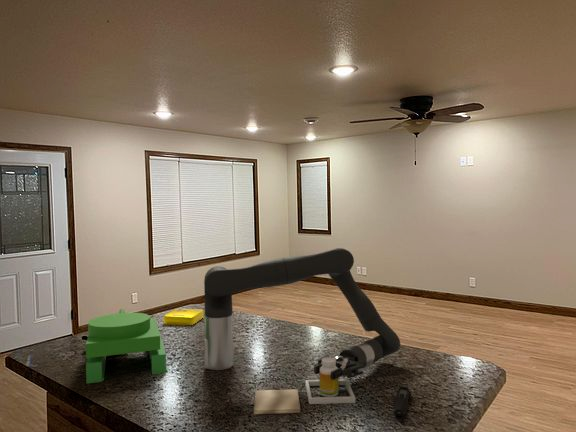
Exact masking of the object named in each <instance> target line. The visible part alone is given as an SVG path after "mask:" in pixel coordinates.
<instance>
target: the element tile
mask: <svg viewBox="0 0 576 432" xmlns="http://www.w3.org/2000/svg"><path fill="white" fill-rule="evenodd" d="M202 318H203V319H205V310H203V309H200V308H199V309H196V308H195V309H194V308H192V309H191V308H182V307H181V308H175V309H173V310H171V311H169V312H168V313H166V314H164V315H163V325H164V324H165V326H166V325H167V326H184V325H192V326H194V325H193V324H195V323H196V324H198V323H199V322H200V321H199V320H201V319H202ZM203 319H202V320H203ZM202 320H201V321H202ZM198 321H199V322H198ZM197 322H198V323H197ZM196 324H195V325H196Z"/></svg>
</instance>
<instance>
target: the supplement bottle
mask: <svg viewBox="0 0 576 432" xmlns="http://www.w3.org/2000/svg"><path fill="white" fill-rule="evenodd" d="M322 365H323V366H321V367H320V373H319V380H320V386H319V394H320V395H321V396H322V397H338V395H339V391H340V390H339V386H340V385H339V378H340V377H339V378H337V379H335V380H332V379H331V372H332V371H334V370H336V369H338V368H337V367H336V366H335V365H336V360H335V359H334V358H333V357H331V356H329V357H327V358H323V359H322Z"/></svg>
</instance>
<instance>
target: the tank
mask: <svg viewBox="0 0 576 432" xmlns="http://www.w3.org/2000/svg"><path fill="white" fill-rule="evenodd" d="M87 334H88V335H87V339H86V342H85V358H86V363H85V375H86V377H85V378H86V381H85V384H92V383H93V384H95V383H102V382H103V381H105V370H106V357H108V356H109V357H110V356H115V355H123V354H135V353H141V352H148V353H149V358H150V359H149V360H150V363H151V375H153V376H154V375H158V374H160V375H161V374H166V373H167V372H169V371H168V367H167V354H166V353H167V352H166V350H165V346H164V344H163V339H162V334H161V332H160V330H159V326H158V323H157V319H156V317H151V315H149V314H147V313H142V312H125V309H124V308H120V309H119V313H112V314H111V313H110V314H105V315H102V316H98V317H94V318H92V319H90V320H88V322H87Z"/></svg>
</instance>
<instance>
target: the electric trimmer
mask: <svg viewBox="0 0 576 432" xmlns="http://www.w3.org/2000/svg"><path fill="white" fill-rule="evenodd" d="M396 393H397V394H396V398H395V402H394V404H393V415H395V416H401V417H404V416H405V414H406V412H407V411H408V408H409V403H408V401H409V397H411V396H412V393H411V390H410V388H409V387H407V386H400V387H399V388H398V389H397V390H396Z"/></svg>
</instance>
